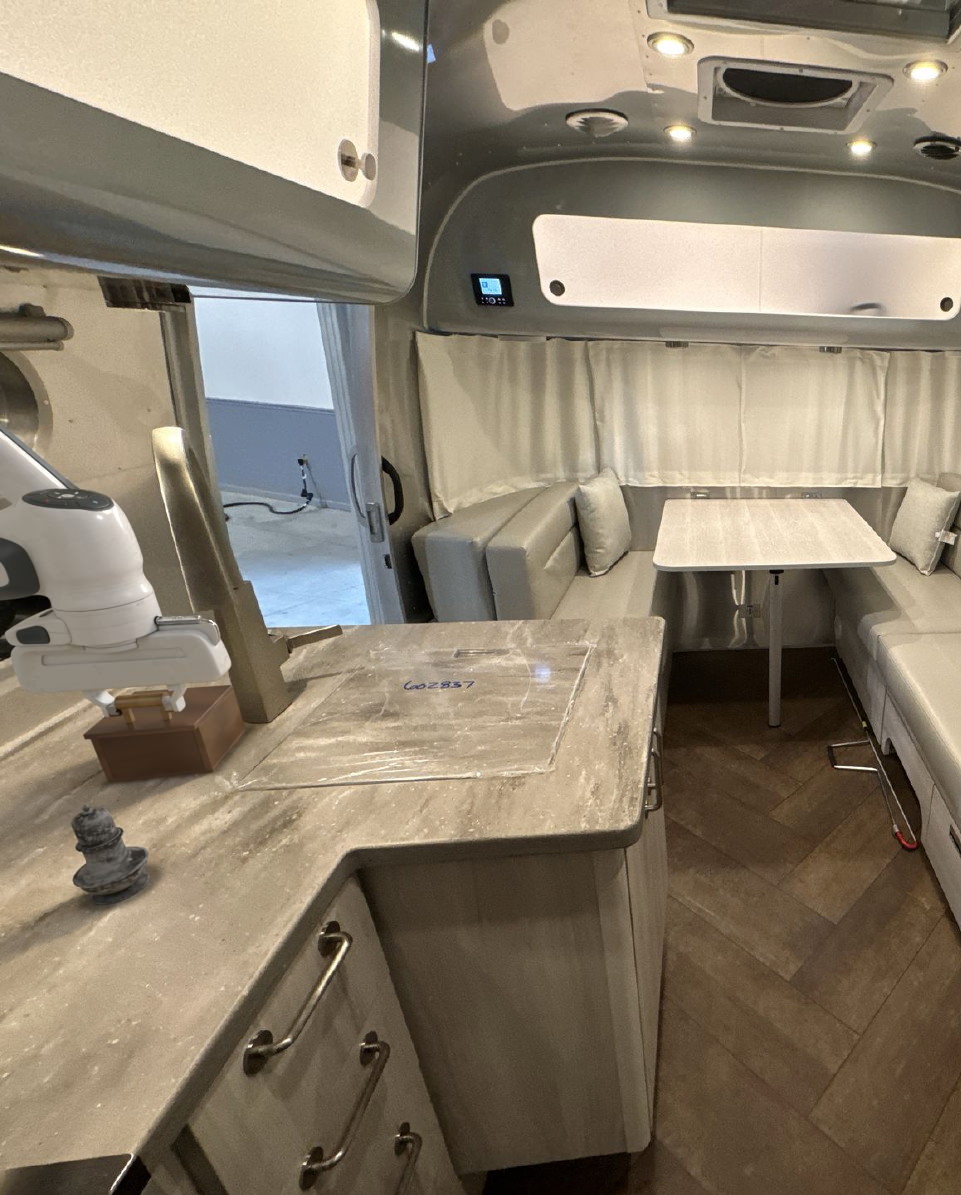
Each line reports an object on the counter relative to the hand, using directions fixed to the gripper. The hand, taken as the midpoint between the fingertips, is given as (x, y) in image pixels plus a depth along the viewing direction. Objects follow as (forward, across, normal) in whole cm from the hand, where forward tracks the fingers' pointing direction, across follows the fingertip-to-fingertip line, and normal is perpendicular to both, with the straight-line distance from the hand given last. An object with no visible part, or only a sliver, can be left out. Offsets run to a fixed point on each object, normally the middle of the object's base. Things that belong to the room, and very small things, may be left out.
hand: (146, 712), depth 85 cm
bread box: (+10, 0, -4) cm, 11 cm away
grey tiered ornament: (+10, -6, +22) cm, 25 cm away
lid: (+2, 0, -3) cm, 4 cm away
